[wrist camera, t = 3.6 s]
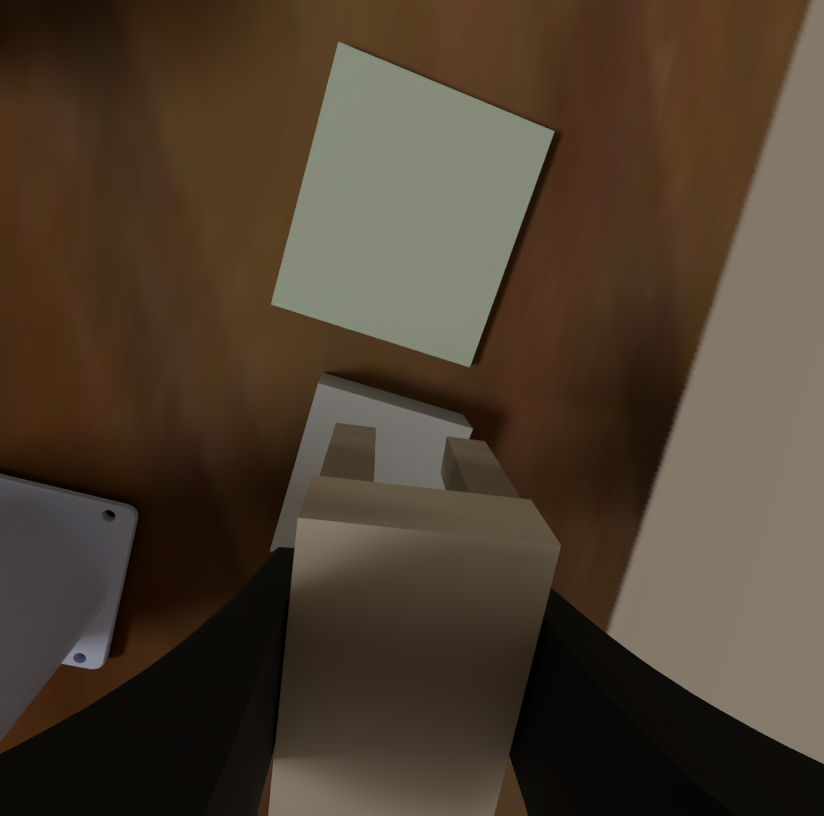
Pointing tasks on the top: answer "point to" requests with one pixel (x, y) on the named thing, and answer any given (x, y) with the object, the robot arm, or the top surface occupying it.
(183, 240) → the top surface
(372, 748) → the beige toy stool
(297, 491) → the step
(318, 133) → the mat
